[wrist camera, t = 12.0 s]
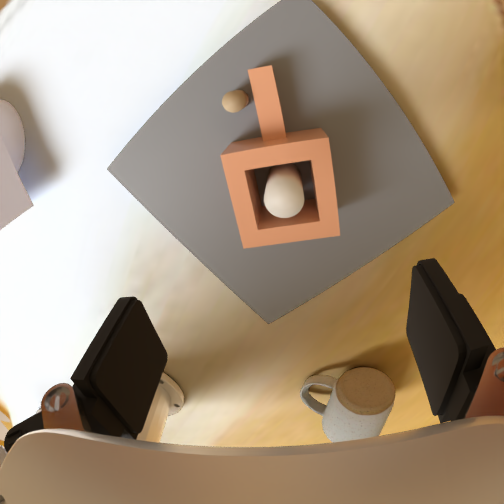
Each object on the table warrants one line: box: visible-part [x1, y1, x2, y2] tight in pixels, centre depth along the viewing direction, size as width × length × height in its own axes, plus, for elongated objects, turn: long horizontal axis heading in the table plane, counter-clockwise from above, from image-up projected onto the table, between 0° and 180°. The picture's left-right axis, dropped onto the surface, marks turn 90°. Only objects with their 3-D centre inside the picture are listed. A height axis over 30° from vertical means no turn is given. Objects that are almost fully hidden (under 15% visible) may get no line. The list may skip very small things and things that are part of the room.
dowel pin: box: [222, 90, 249, 113], centre depth 19 cm, size 1×1×2 cm
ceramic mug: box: [300, 367, 395, 443], centre depth 33 cm, size 11×8×8 cm
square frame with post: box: [220, 65, 340, 249], centre depth 20 cm, size 11×6×4 cm, turn 12°
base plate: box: [107, 0, 455, 324], centre depth 21 cm, size 20×20×6 cm
